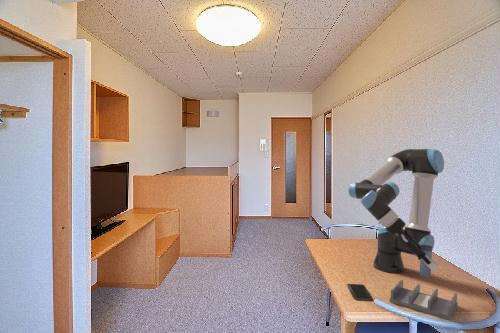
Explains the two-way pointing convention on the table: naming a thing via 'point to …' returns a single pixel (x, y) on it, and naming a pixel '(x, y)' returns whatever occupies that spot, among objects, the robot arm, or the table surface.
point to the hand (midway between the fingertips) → (435, 267)
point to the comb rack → (424, 301)
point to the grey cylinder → (424, 269)
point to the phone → (359, 292)
